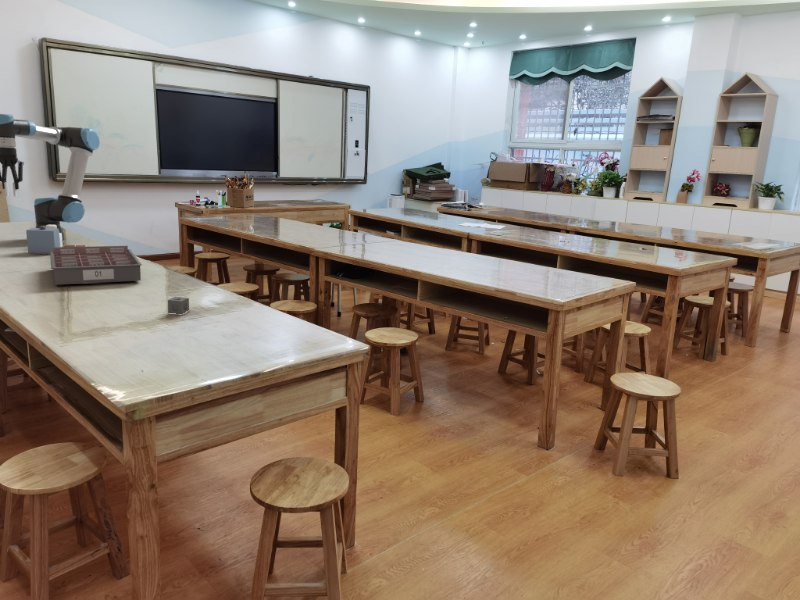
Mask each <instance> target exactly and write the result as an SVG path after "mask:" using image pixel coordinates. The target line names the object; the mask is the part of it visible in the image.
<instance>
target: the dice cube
mask: <svg viewBox="0 0 800 600" xmlns="http://www.w3.org/2000/svg"><path fill="white" fill-rule="evenodd" d="M188 310H189V311H190V298H189V297H180V296H174V297H172V298H169V299H167V314H168V313H176V314H183V313H185V312H186V311H188Z"/></svg>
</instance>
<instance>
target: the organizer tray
mask: <svg viewBox="0 0 800 600" xmlns="http://www.w3.org/2000/svg"><path fill="white" fill-rule="evenodd" d="M49 256H50V257H49V258H50V269H52V270H53V281H54V286H55V285H72V284H73V285H75V284H78V285H79V284H93V283H94V284H97V283H115V282H116V283H118V282H132V281H133V282H135V281H138V282H139V281H141V280H142V279H141V278H142V277H141V275H142V274H141V266H143V264H142V263H141V262H140V260H139V259H138V258H137V257H136V255H135V254H134V252H133V251H132V250H131V249H129V247H128V245H104V246H101V245H99V246H92V245H91V246H85V247H64V246H62V247H53V251H51V252H50V255H49Z"/></svg>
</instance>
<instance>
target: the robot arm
mask: <svg viewBox="0 0 800 600" xmlns="http://www.w3.org/2000/svg"><path fill="white" fill-rule="evenodd" d="M16 137H17V138H24V139H31V140H34V141H42V142H48V143H49V144H50V145H55V146H58V147H59V146H60V147H64V148H68V149H69V150H70V158H69V163H68V167H67V170H66V175H65V178H64V179H65V180H64V184H63V189H62V192H61V193H60V194H58V196H54V197H42V198H41V197H39V198H35V199H34V201H33V202H34V204H33V207H34V209H33V210H34V215H35V218H34V219H35V228H40V226H46V225H48V224H56V225H58V226H59V233H62V240H65V233H64V231H63V229H62V226H61V222H62V223H70V224H71V223H73V224H74V223H77V222H80V221H81V220H82V219H83V218H84V215H85V206H84V205H83V203H82V202H83V201H82V199H81V192H82V188H83V183H84V178H85V175H86V171H87V166H88V165H87V164H88V160H89V157H91V156H92V155H93V152H94V151H95V150H97V149H98V148H99V147H100V138H99V135H98V133H97V132H96V131H95V130H94V129H92V128H89V127H88V128H87V127H75V126H73V127H72V126H65V127H64V126H63V127H62V126H59V127H58V126H50V127H47V126H41V125H37V124H36V123H35V122H34V121H32V120H27V119H15V118H14V116H13V115H12V114H7V113H0V164H1V168H2V170H1V171H0V183H1V186H2V189H3V190H4V195H5V197H10V189H9V187H10V186H9V182H7V176H8V175H7V174H8V168H10V169H9V170H10V171H11V175H12V180H13V182H12V193H13V197H18V190H19V189H20V185H19V184H20V183H21V182H23V176H24V175H23V173H24V171H23V168H24V167H23V166H24V164H25V162H24V161H21V160H19V159H18V157H17V156H18V155H17V148H16V147H17V143H16ZM16 164H17V169H16Z"/></svg>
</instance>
